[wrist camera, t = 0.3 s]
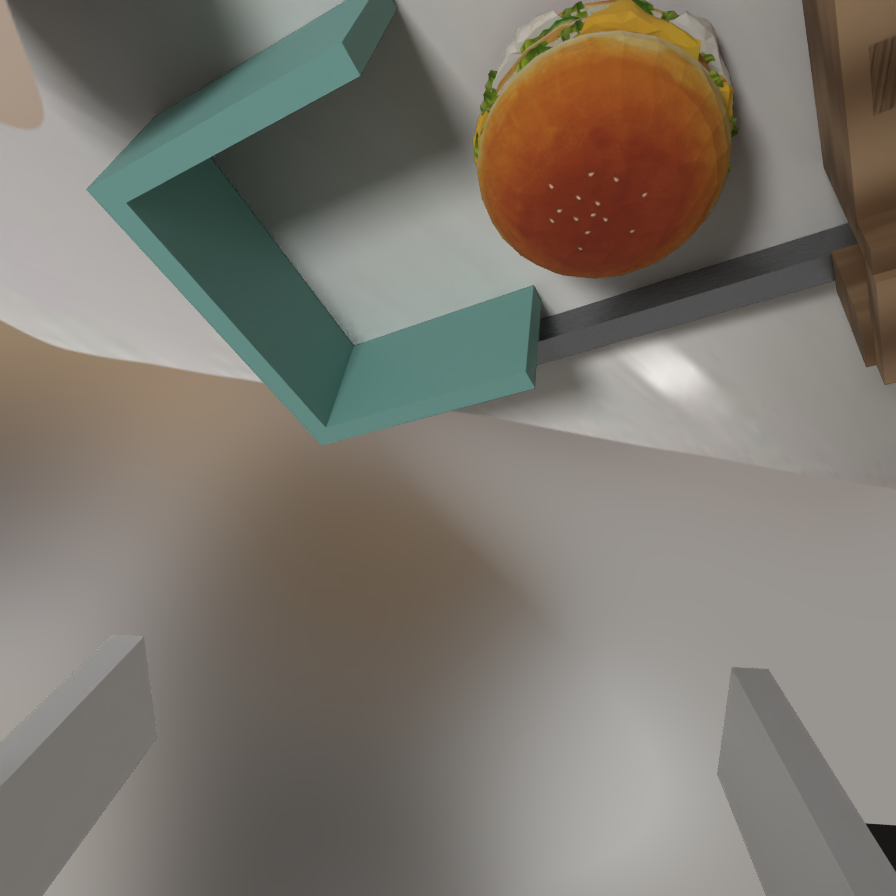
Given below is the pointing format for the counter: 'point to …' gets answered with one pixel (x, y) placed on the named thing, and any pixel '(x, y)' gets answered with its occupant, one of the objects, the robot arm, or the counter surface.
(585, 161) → the burger
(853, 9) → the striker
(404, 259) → the counter surface
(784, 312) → the counter surface
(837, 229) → the rail
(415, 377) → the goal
